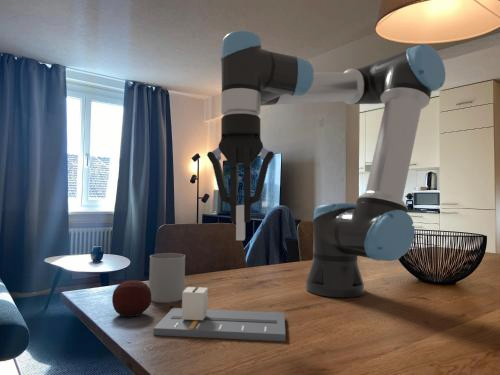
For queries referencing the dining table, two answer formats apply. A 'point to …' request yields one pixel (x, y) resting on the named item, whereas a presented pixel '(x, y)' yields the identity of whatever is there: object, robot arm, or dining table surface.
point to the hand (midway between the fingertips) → (240, 239)
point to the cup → (167, 277)
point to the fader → (194, 303)
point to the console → (225, 325)
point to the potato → (131, 298)
